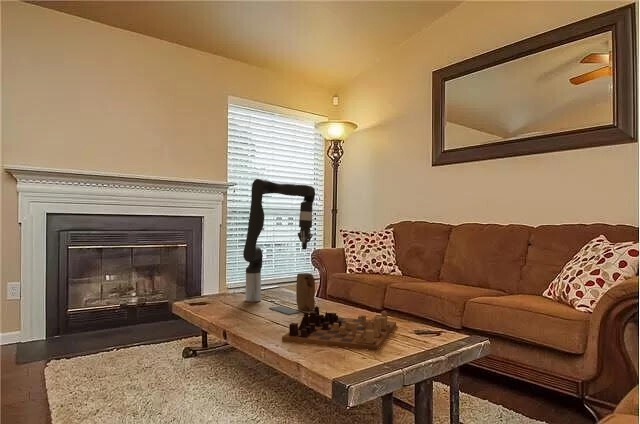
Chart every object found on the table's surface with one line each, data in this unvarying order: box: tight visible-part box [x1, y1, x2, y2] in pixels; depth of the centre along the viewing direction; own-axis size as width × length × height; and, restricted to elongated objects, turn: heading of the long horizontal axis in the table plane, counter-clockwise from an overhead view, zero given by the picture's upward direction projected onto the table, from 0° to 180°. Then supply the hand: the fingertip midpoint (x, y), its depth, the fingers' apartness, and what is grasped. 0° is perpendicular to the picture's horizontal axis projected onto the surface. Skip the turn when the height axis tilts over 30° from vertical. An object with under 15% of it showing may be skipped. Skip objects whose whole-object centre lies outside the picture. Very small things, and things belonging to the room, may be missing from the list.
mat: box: [268, 305, 301, 316], centre depth 236 cm, size 20×8×1 cm, turn 37°
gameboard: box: [281, 305, 397, 351], centre depth 189 cm, size 40×40×9 cm
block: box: [295, 272, 316, 312], centre depth 239 cm, size 11×8×20 cm
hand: (304, 249), depth 250 cm, fingers closed
